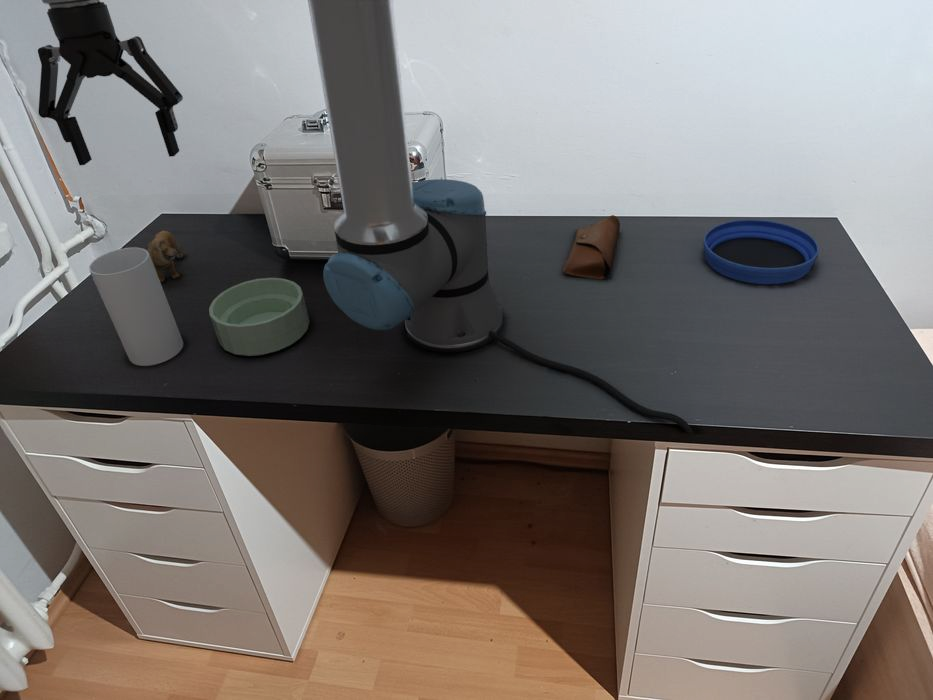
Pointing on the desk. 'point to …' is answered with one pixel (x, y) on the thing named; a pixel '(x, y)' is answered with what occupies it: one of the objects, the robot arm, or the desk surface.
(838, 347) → the desk surface
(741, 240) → the blue plastic ring
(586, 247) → the sunglasses case
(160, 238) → the lion figurine
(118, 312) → the cup
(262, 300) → the ceramic bowl
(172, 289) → the desk surface
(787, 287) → the desk surface
